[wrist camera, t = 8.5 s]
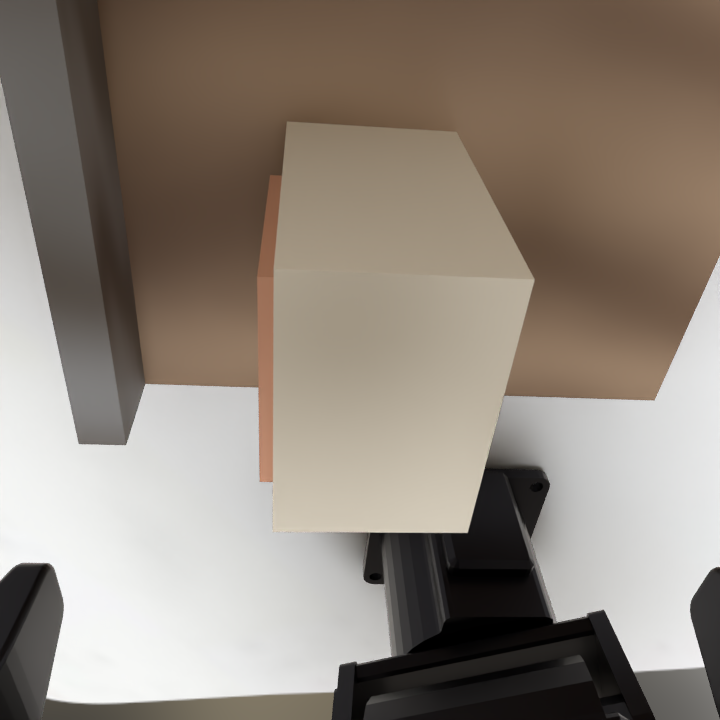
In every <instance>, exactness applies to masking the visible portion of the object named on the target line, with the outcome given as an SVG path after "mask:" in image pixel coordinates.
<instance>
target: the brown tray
mask: <svg viewBox="0 0 720 720" xmlns="http://www.w3.org/2000/svg"><path fill="white" fill-rule="evenodd" d="M0 77H1V82H2V87H3V91H4V96H5V101H6V106H7V110H8V115H9V120H10V124H11V129H12V134H13V138H14V143H15V148H16V152H17V157H18V162H19V166H20V171H21V176H22V180H23V185H24V190H25V194H26V199H27V204H28V208H29V213H30V218H31V222H32V227H33V232H34V236H35V241H36V246H37V250H38V255H39V260H40V264H41V269H42V274H43V278H44V283H45V288H46V292H47V297H48V302H49V306H50V311H51V316H52V320H53V325H54V330H55V334H56V339H57V344H58V349H59V353H60V358H61V363H62V367H63V372H64V377H65V381H66V386H67V391H68V395H69V400H70V405H71V409H72V414H73V419H74V423H75V428H76V433H77V437H78V442H79V444H101V445H126V443H127V440H128V437H129V434H130V431H131V427H132V424H133V421H134V418H135V415H136V412H137V408H138V405H139V402H140V399H141V396H142V392H143V389H144V386H145V384H169V385H200V386H230V387H259V384H258V308H257V274H258V266H259V258H260V250H261V242H262V234H263V227H264V219H265V211H266V203H267V195H268V187H269V180H270V175H279V176H282V170H283V159H284V148H285V137H286V126H287V121H288V122H304V123H321V124H337V125H353V126H370V127H386V128H402V129H419V130H435V131H452V132H457V134H458V136H459V138H460V139H461V141H462V143H463V145H464V147H465V149H466V151H467V153H468V155H469V156H470V158H471V160H472V162H473V164H474V166H475V168H476V170H477V172H478V173H479V175H480V177H481V179H482V181H483V183H484V185H485V187H486V189H487V190H488V192H489V194H490V196H491V198H492V200H493V202H494V204H495V206H496V207H497V209H498V211H499V213H500V215H501V217H502V219H503V221H504V222H505V224H506V226H507V228H508V230H509V232H510V234H511V236H512V238H513V239H514V241H515V243H516V245H517V247H518V249H519V251H520V253H521V255H522V256H523V258H524V260H525V262H526V264H527V266H528V268H529V270H530V272H531V273H532V275H533V277H534V279H535V280H534V284H533V288H532V292H531V296H530V299H529V303H528V307H527V311H526V314H525V318H524V322H523V326H522V330H521V333H520V337H519V341H518V345H517V348H516V352H515V356H514V360H513V364H512V367H511V371H510V375H509V379H508V382H507V386H506V390H505V394H504V395H505V396H536V397H566V398H597V399H628V400H655V398H656V396H657V393H658V391H659V389H660V387H661V384H662V382H663V380H664V378H665V376H666V373H667V371H668V369H669V367H670V365H671V362H672V360H673V358H674V356H675V353H676V351H677V349H678V347H679V345H680V342H681V340H682V338H683V336H684V334H685V331H686V329H687V327H688V325H689V322H690V320H691V318H692V316H693V314H694V311H695V309H696V307H697V305H698V302H699V300H700V298H701V296H702V294H703V291H704V289H705V287H706V285H707V283H708V280H709V278H710V276H711V274H712V271H713V269H714V267H715V265H716V263H717V260H718V258H719V256H720V0H0Z"/></svg>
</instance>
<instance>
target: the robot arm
mask: <svg viewBox="0 0 720 720" xmlns="http://www.w3.org/2000/svg"><path fill="white" fill-rule="evenodd" d="M534 483H536V484H534ZM549 487H550V483H549V481H548V478H547V476H546V474H545V473H544V472H543V471H540V470H512V469H484V473H483V477H482V481H481V484H480V488H479V492H478V496H477V499H476V503H475V507H474V511H473V514H472V518H471V522H470V526H469V530H468V533H374V532H368V538H367V544H366V551H365V558H364V565H363V576H364V580H365V581H366V582H368V583H370V584H384V586H385V596H386V606H387V616H388V626H389V636H390V646H391V655H392V657H390V658H385V659H380V660H375V661H370V662H366V663H361V664H357V662H351V663H346V664H342V665H340V667H339V676H338V687H337V689H335V691H334V701H333V712H332V720H655V717H654V715H653V713H652V711H651V709H650V707H649V705H648V702H647V700H646V698H645V696H644V694H643V692H642V689H641V687H640V685H639V683H638V681H637V679H636V677H635V675H634V672H633V670H632V668H631V666H630V664H629V662H628V660H627V658H626V655H625V653H624V651H623V649H622V647H621V645H620V643H619V641H618V638H617V636H616V634H615V632H614V630H613V628H612V626H611V624H610V621H609V619H608V617H607V615H606V613H605V611H604V610H601V611H596V612H591V613H587V617H582V618H577V619H572V620H568V621H563V622H558V623H557V621H556V618H555V614H554V611H553V608H552V605H551V602H550V599H549V596H548V593H547V590H546V586H545V583H544V580H543V577H542V574H541V571H540V568H539V565H538V562H537V559H536V555H535V552H534V549H533V546H532V543H531V540H530V539H531V536H532V534H533V531H534V528H535V525H536V523H537V520H538V517H539V515H540V512H541V509H542V506H543V504H544V501H545V498H546V496H547V493H548V490H549ZM63 611H64V603H63V597H62V594H61V590H60V587H59V583H58V580H57V577H56V573H55V570H54V568H53V566H52V565H50V564H49V563H21V564H18V565H16V566H15V567H13V568H12V569H11V570H10V571H9V572H8V573H7V574H6V575H5V576H4V578H3V579H2V580H1V581H0V720H41V719H42V715H43V710H44V705H45V700H46V695H47V691H48V686H49V681H50V676H51V671H52V667H53V662H54V657H55V652H56V647H57V643H58V638H59V633H60V628H61V623H62V618H63ZM690 613H691V619H692V623H693V626H694V630H695V633H696V637H697V640H698V644H699V648H700V651H701V655H702V658H703V662H704V665H705V668H706V672H707V676H708V680H709V683H710V687H711V690H712V694H713V697H714V701H715V705H716V708H717V711H718V714H719V717H720V567H716V568H714V569H712V570H711V571H710V572H709V573H708V575H707V576H706V578H705V580H704V581H703V583H702V584H701V586H700V587H699V589H698V590H697V592H696V593H695V595H694V597H693V598H692V600H691V604H690Z"/></svg>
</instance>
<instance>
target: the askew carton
mask: <svg viewBox="0 0 720 720" xmlns="http://www.w3.org/2000/svg"><path fill="white" fill-rule="evenodd" d="M534 280H535V279H534V277H533V275H532V273H531V272H530V270H529V268H528V266H527V264H526V262H525V260H524V258H523V256H522V255H521V253H520V251H519V249H518V247H517V245H516V243H515V241H514V239H513V238H512V236H511V234H510V232H509V230H508V228H507V226H506V224H505V222H504V221H503V219H502V217H501V215H500V213H499V211H498V209H497V207H496V206H495V204H494V202H493V200H492V198H491V196H490V194H489V192H488V190H487V189H486V187H485V185H484V183H483V181H482V179H481V177H480V175H479V173H478V172H477V170H476V168H475V166H474V164H473V162H472V160H471V158H470V156H469V155H468V153H467V151H466V149H465V147H464V145H463V143H462V141H461V139H460V138H459V136H458V134H457V132H452V131H435V130H419V129H402V128H386V127H370V126H353V125H337V124H321V123H304V122H288V121H287V126H286V137H285V148H284V159H283V170H282V176H279V175H270V180H269V187H268V195H267V203H266V211H265V219H264V227H263V234H262V242H261V250H260V258H259V266H258V274H257V308H258V384H259V460H260V482H273V532H374V533H468V530H469V526H470V522H471V518H472V514H473V511H474V507H475V503H476V499H477V496H478V492H479V488H480V484H481V481H482V477H483V473H484V469H485V465H486V462H487V458H488V454H489V450H490V447H491V443H492V439H493V435H494V431H495V428H496V424H497V420H498V416H499V413H500V409H501V405H502V401H503V397H504V394H505V390H506V386H507V382H508V379H509V375H510V371H511V367H512V364H513V360H514V356H515V352H516V348H517V345H518V341H519V337H520V333H521V330H522V326H523V322H524V318H525V314H526V311H527V307H528V303H529V299H530V296H531V292H532V288H533V284H534Z"/></svg>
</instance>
